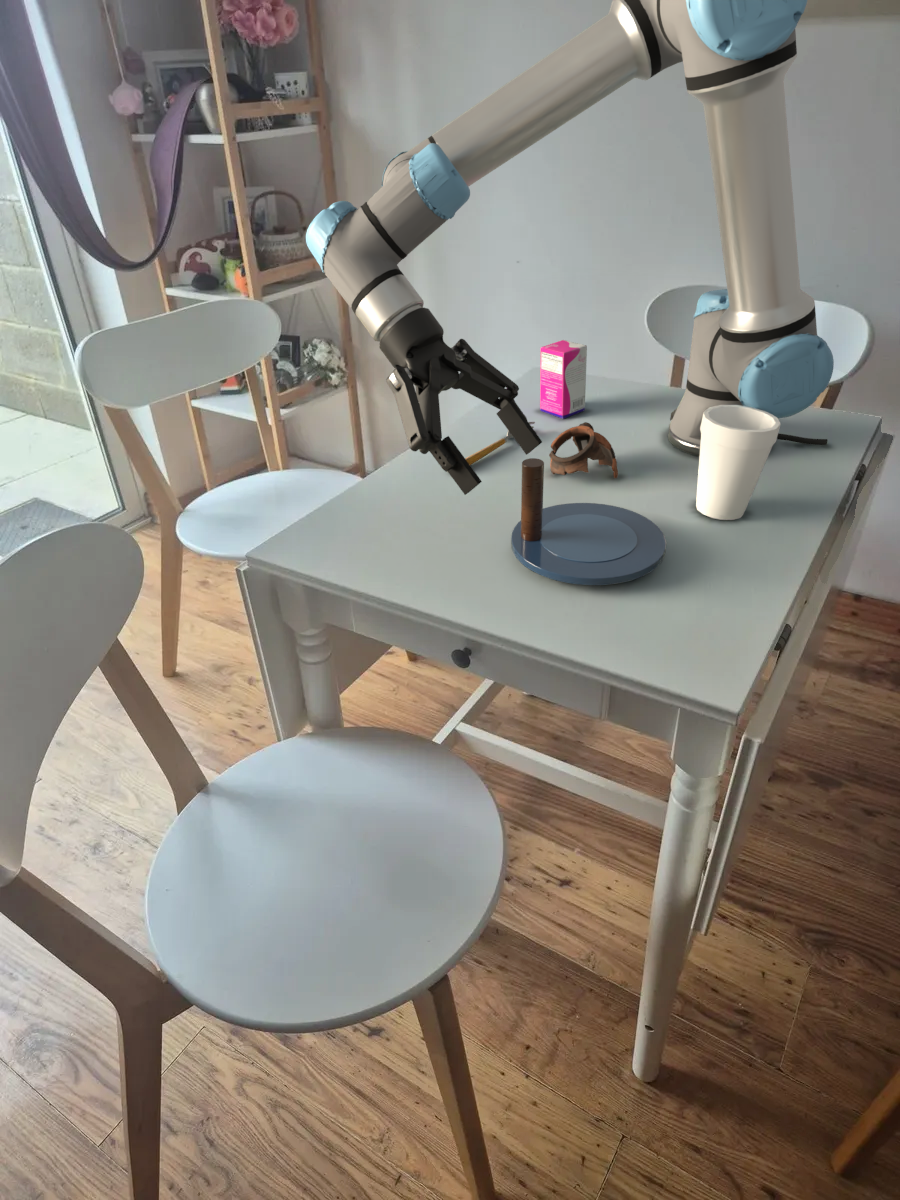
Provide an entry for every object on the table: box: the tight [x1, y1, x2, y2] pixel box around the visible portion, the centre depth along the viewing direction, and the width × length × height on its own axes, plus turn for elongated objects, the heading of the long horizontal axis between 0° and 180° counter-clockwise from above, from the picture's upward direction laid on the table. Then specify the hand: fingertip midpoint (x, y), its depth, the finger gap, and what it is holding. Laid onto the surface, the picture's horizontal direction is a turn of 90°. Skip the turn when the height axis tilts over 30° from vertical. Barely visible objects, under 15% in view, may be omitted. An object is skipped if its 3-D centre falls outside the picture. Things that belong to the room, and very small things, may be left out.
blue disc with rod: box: [510, 457, 667, 586], centre depth 99 cm, size 19×19×11 cm
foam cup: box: [695, 405, 782, 521], centre depth 107 cm, size 10×9×13 cm
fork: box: [464, 421, 536, 466], centre depth 129 cm, size 2×2×20 cm
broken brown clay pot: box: [548, 421, 619, 479], centre depth 121 cm, size 12×10×8 cm
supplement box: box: [539, 339, 588, 420], centre depth 140 cm, size 6×6×12 cm
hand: (505, 467), depth 99 cm, fingers open, 13 cm apart
